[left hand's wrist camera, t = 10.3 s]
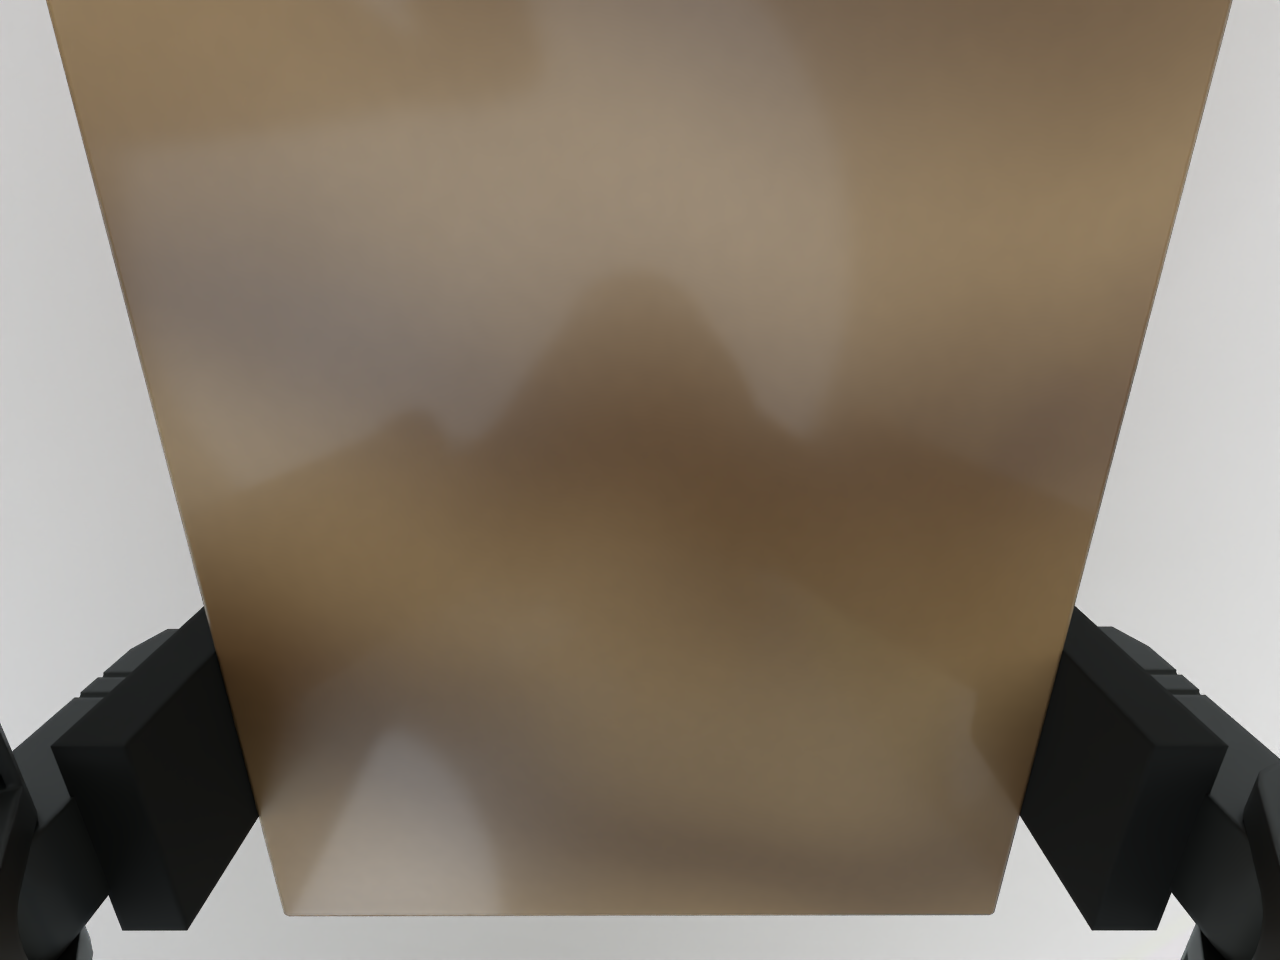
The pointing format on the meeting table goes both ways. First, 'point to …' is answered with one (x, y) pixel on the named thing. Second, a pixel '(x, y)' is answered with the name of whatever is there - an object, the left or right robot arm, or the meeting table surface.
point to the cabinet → (639, 419)
